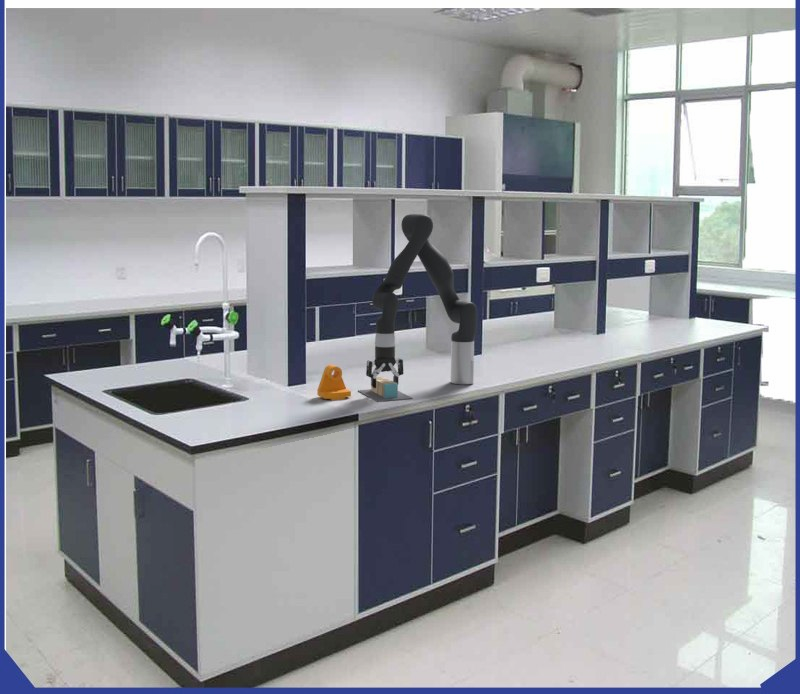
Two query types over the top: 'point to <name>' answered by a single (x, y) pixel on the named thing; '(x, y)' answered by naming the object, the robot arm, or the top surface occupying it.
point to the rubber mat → (381, 399)
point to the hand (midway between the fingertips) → (384, 387)
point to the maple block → (385, 387)
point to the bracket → (332, 384)
